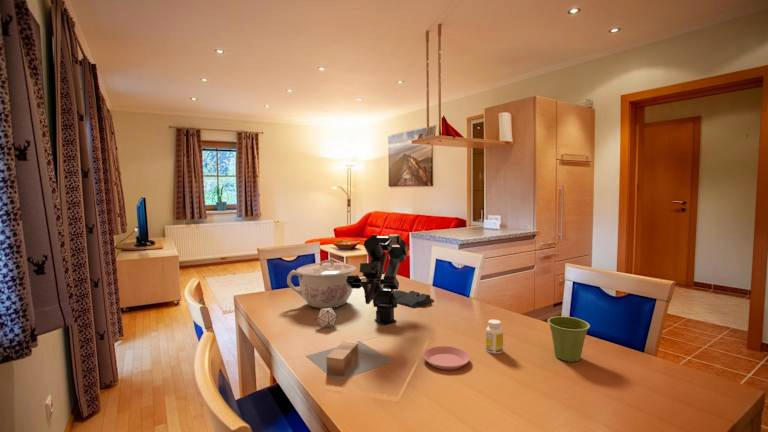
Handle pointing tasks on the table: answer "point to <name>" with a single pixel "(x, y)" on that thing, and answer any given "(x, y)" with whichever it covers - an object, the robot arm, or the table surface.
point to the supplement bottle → (494, 337)
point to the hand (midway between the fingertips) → (367, 303)
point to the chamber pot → (323, 283)
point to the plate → (446, 357)
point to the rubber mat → (365, 362)
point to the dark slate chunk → (412, 299)
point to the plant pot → (568, 337)
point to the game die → (326, 317)
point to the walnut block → (342, 358)
